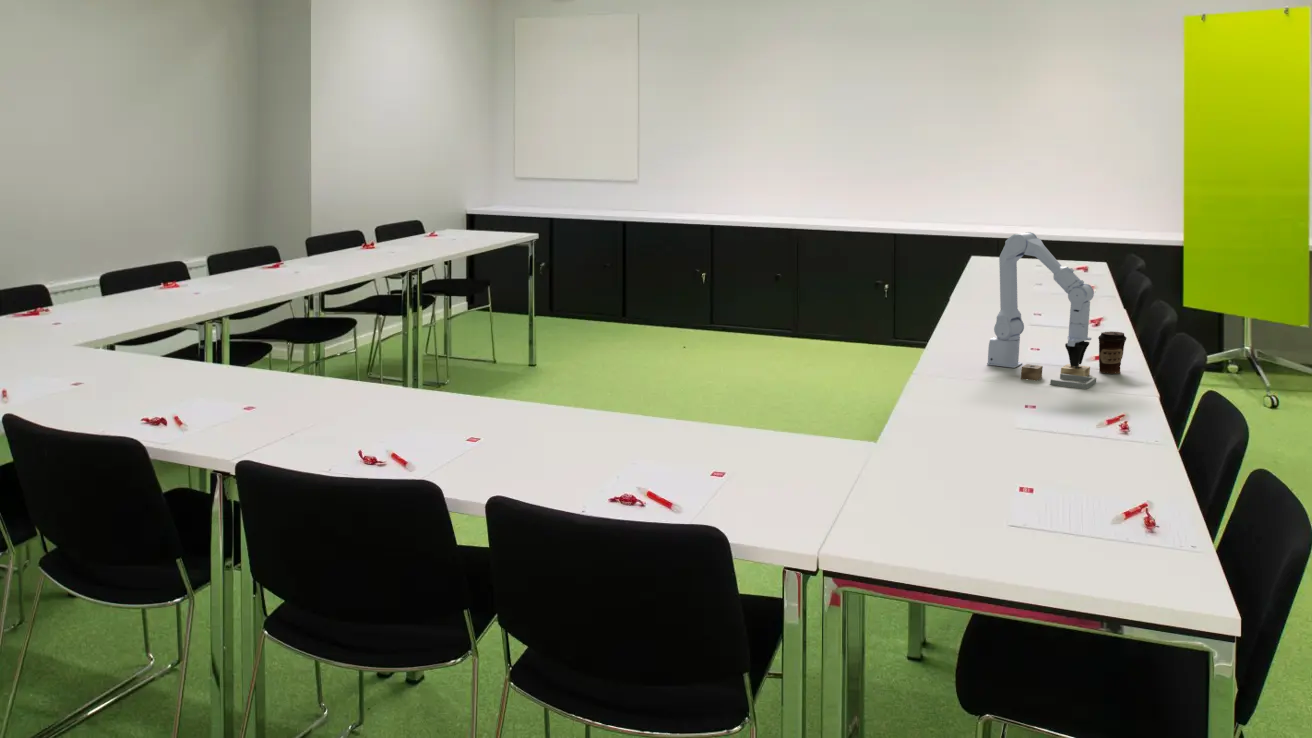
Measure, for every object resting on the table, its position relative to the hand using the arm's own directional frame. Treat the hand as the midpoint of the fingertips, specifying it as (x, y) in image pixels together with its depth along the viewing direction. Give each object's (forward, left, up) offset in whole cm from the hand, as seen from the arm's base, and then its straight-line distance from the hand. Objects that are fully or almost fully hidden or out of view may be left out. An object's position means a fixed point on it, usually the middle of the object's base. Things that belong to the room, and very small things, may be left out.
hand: (1075, 365), depth 347 cm
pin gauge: (0, 0, -3) cm, 3 cm away
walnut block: (-10, -12, -3) cm, 16 cm away
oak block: (0, 0, -3) cm, 3 cm away
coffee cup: (+8, +10, -3) cm, 13 cm away
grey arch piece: (+2, -12, -3) cm, 13 cm away
